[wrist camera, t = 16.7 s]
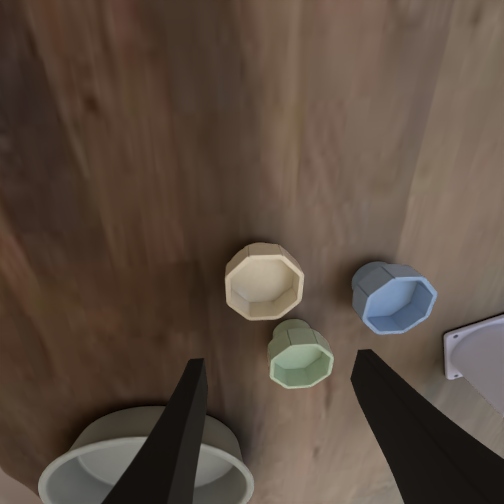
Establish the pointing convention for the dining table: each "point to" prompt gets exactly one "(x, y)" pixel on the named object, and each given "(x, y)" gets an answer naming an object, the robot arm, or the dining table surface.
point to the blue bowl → (391, 297)
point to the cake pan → (125, 449)
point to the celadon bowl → (298, 355)
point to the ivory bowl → (263, 282)
